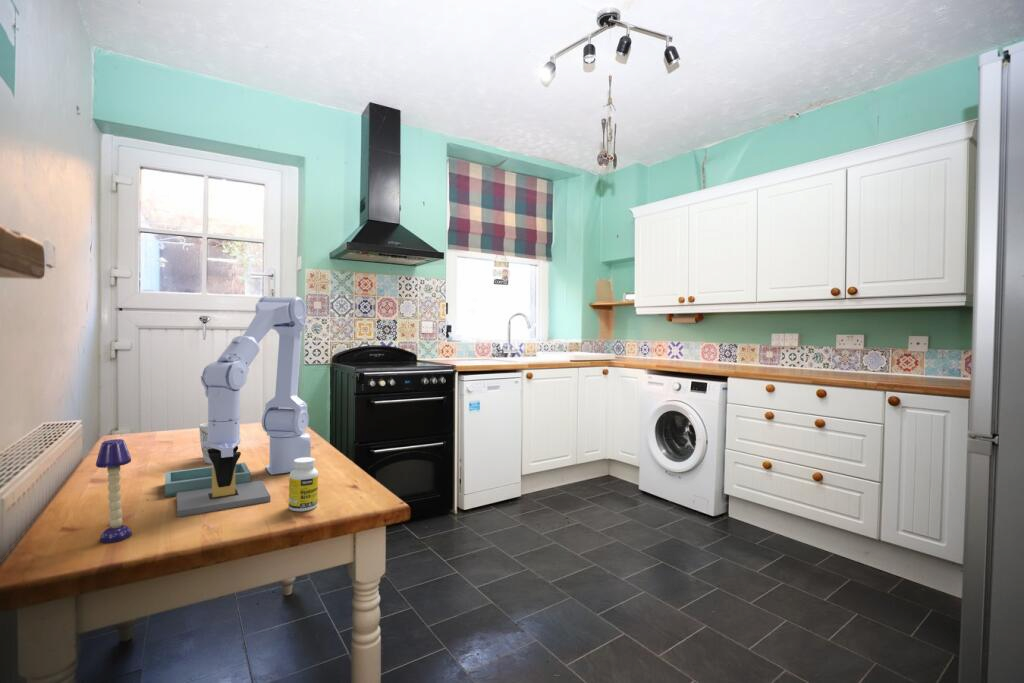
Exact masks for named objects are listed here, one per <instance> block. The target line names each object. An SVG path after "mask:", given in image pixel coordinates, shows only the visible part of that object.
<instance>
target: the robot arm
mask: <svg viewBox="0 0 1024 683" xmlns="http://www.w3.org/2000/svg"><path fill="white" fill-rule="evenodd" d="M306 320H307V306H306V304H305V302H304V300H303V298H301V297H300V296H268V295H264V296H261V297H260V298H259V300H258V302H257V303H256V304H255V315H254V317H253V319H252V321H251V322H250V323H249V325H248V327H247V329H246V331H245V332H244V333H243V335H239V336H235V337H233V338H232V340H231V342H230V343H229V345H228V346H227V347H226V349H225V350H224V351H223V352H222V354H221V355H220V357H218V359H216V361H213V362H210V363H209V364H207V365H206V366H205V367H204V369H203V371H202V373H201V374H202V375H201V376H200V381H201V384H202V386H203V388H204V395H205V397H206V398H207V422H208V441H202V442H200V447H201V446H208V447H211V449H207V452H208V453H209V458H210V460H211V461H212V463H213V465H214V468H215V473H216V479H217V483H218V486H219V487H226V486H230V485H231V481H232V477H233V472H234V468H235V465H236V463H237V462H238V461H239V459H240V457H241V455H242V453H241V451H238V450H239V446H238V445H240V444H241V441H242V440H241V438H240V435H241V434H240V433H241V432H240V430H241V429H240V428H241V427H240V422H241V421H240V419H241V418H240V417H241V412H240V411H241V410H240V409H241V407H240V405H241V400H240V399H241V389H242V388H243V387H244V386H245V385H246V383H247V379H248V373H249V370H250V368H249V367H250V366H251V364H252V363H253V361H254V359H255V358H256V357H257V355H258V354H259V353H260V346H259V343H260V342H261V341H262V340H263V339H264V338H265V336H266V335H267V334H268V333H269V331H270V330H271V329H272V330H274V331H276V333H277V334H278V335H279V336H278V350H277V353H278V354H277V362H276V363H277V364H276V366H277V368H276V378H275V379H276V380H275V393H274V394H275V395H274V396H273V397H272V398H271V399H270V400H269V401H267V402H266V403H265V405H264V406H265V407H264V411H263V414H262V417H261V427H262V429H263V431H264V432H265V433H266V436H268V437H269V464H267V465H265V469H266V471H267V472H268V473H269V475H278V474H287V473H291V471H293V470H294V469H295V468H294V466H293V465H294V460H295V459H297V458H303V457H311V451H312V450H311V446H312V445H311V442H312V441H311V437H310V434H309V433H308V432H305V431H306V430H307V429H308V426H309V424H310V423H309V422H310V418H309V417H310V416H309V413H308V404H307V402H305V401H304V400H302V399H301V398H300V397H299V396H298V391H299V378H300V377H299V376H300V375H299V374H300V365H301V364H300V361H301V349H302V348H301V346H302V332H303V331H305V329H306V323H307V322H306ZM311 458H312V457H311Z"/></svg>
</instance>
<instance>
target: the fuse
mask: <svg viewBox="0 0 1024 683" xmlns="http://www.w3.org/2000/svg"><path fill="white" fill-rule="evenodd" d="M211 467H212V496H213V497H218V496H225V495H231V494H235V468H236V465H235V468H234V472H233V477H232V481H231V485H230V486H226V487H219V486H218V483H217V479H216V473H215V468H214V465H213V463H212V464H211ZM225 497H226V496H225Z"/></svg>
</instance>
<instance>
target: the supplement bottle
mask: <svg viewBox="0 0 1024 683" xmlns="http://www.w3.org/2000/svg"><path fill="white" fill-rule="evenodd" d="M293 466H294V468H295V469H294V470H293V471H291V472H289V477H288V478H289V479H288V480H289V481H288V482H289V483H288V485H289V486H288V487H289V488H288V508H289V510H290V511H293V512H306V511H311V510H313V509H315V508H316V507H317V506H318V500H319V495H318V494H319V471H318V470H317V469H316V468H315V466H316V459H315V458H314V457H303V458H297V459H295V460H294V465H293Z"/></svg>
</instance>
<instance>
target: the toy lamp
mask: <svg viewBox="0 0 1024 683" xmlns="http://www.w3.org/2000/svg"><path fill="white" fill-rule="evenodd" d="M100 444H101V445H100V448H99V451H98V455H97V459H96V463H95V466H96V467H97V468H99V469H107V473H108V476H107V482H108V485H107V490H108V496H107V499H108V500H109V502H108V509H109V513H108V516H109V519H110V520H109V527H108V528H106V529H105V530H104V531H103V532H102V533H101V535H100V538H99V542H100V543H104V544H105V543H106V544H109V543H117V542H119V541H123V540H126V539H127V538H129V537H131V536H132V534H133V533H132V530H131V528H130V527H129V526H127V525H124V524H123V518H122V516H123V510H122V505H123V503H122V500H121V499H122V492H121V487H122V486H121V482H120V481H121V477H122V476H121V473H120V472H121V466H125V465H128V464H129V463H131V462H132V457H131V454H130V452H129V449H128V447H127V444H126V441H125V440H124V439H122V438H120V439H119V438H117V439H109V440H104V441H103V442H101V443H100Z"/></svg>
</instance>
